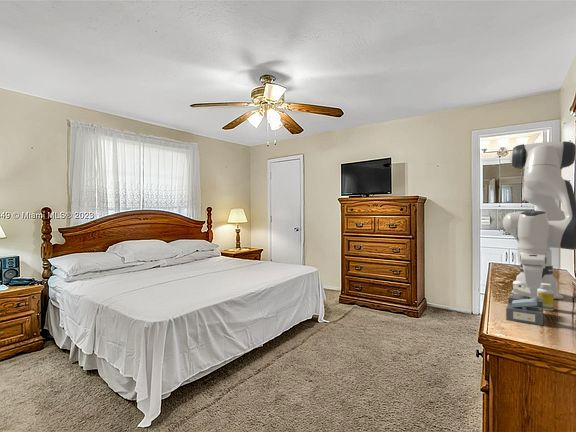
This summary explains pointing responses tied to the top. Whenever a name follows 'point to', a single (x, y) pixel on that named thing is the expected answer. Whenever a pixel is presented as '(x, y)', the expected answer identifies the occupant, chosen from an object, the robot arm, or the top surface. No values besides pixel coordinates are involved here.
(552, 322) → the top surface
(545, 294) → the supplement bottle
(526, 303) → the rocker front
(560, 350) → the top surface
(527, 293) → the rocker rear
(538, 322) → the console
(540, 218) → the robot arm
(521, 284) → the milkshake
